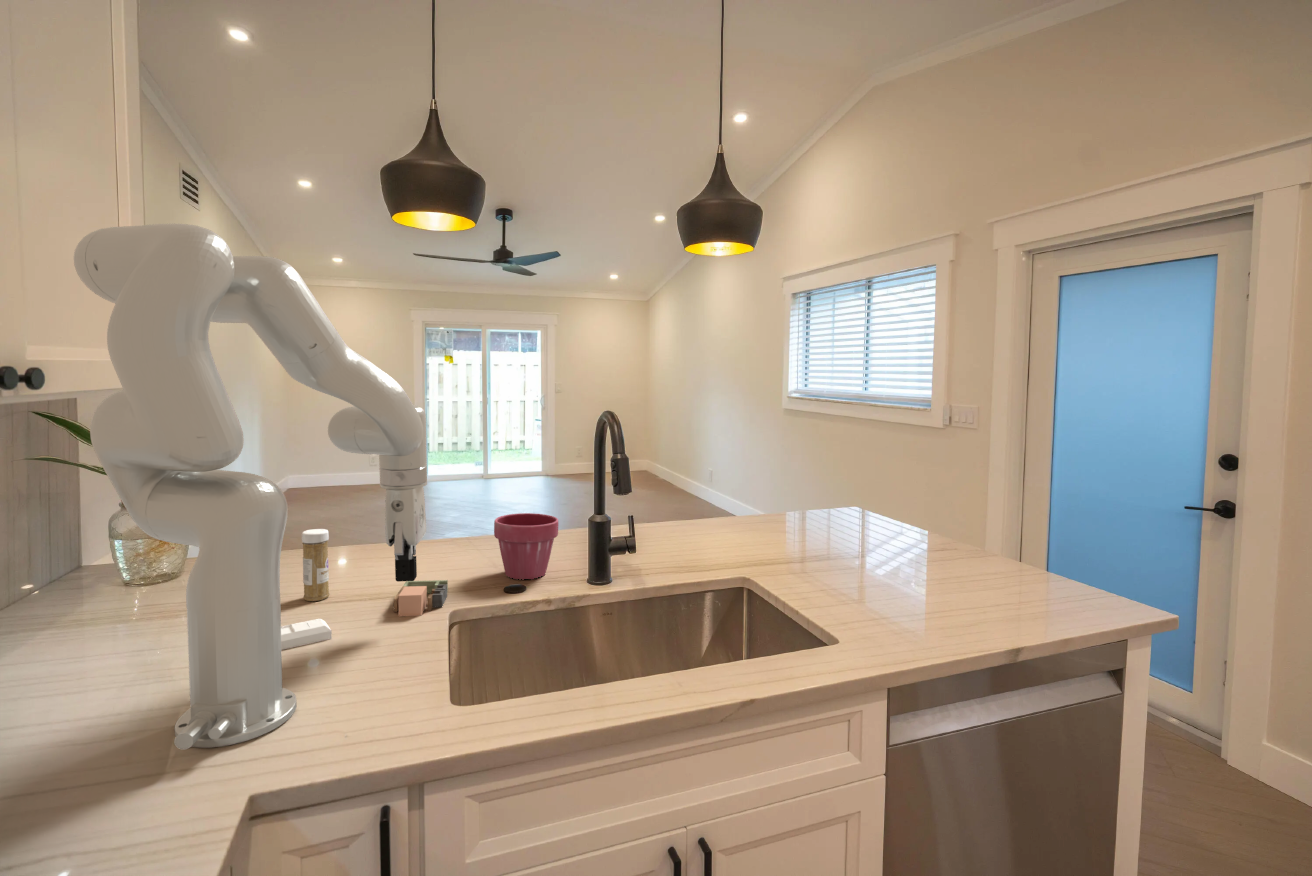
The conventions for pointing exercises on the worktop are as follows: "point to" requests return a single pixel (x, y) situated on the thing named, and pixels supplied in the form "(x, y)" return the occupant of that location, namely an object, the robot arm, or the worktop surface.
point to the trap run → (434, 587)
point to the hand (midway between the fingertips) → (406, 579)
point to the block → (412, 601)
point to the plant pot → (525, 543)
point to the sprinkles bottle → (315, 564)
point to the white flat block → (304, 633)
